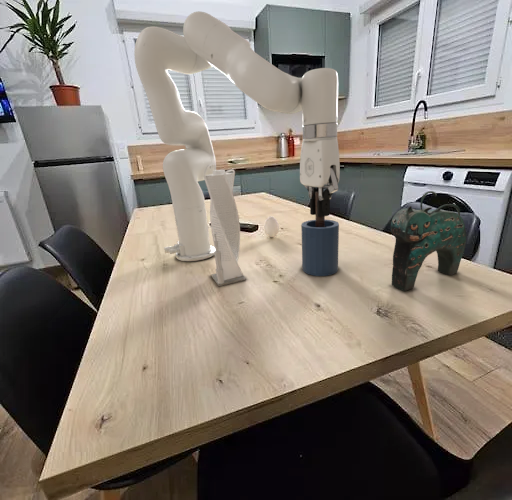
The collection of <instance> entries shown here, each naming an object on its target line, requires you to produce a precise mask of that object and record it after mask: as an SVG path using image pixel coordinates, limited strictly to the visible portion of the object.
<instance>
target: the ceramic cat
mask: <svg viewBox="0 0 512 500" xmlns="http://www.w3.org/2000/svg"><path fill="white" fill-rule="evenodd" d="M428 194H432V195H433V197H434V198H436V197H437V192H436V191H433V190H429V191H426V192H424V193H423V194H422V195H421V198H420V203H419V208H420V209H414V208H412V205H409V207H408V208H406V207H405V208H401V209H399V210H398V211H396V212H395V213H394V215H393V217H392V219H391V223H390V232H391V234H392V236H393V237H394V238H395V243H394V249H393V254H392V269H391V286H393V287H394V288H396V289H398V290H400V291H403V292H407V291H410V290H413V289H414V287H415V285H416V282H417V277H418V274H419V272H420V269H421V268H422V265H423V264H424V261H425V260H426V258H427V257H428V256H429V255H431V254H433V253H435V252H436V254H437V271H438V273H441V274H444V275H449V276H452V275H455V274H457V273H458V271H459V268H460V264H461V261H462V258H463V255H464V252H465V250H466V244H467V230H466V224H465V221H464V219H463V218H462V216H461V209H460V207H459V206H458V205H457V204H452V203H447V204H442V205H440V206H439V207H437V208H435V209H433V206H431V207H430V206H429V207H425V208H423V201H424V199H425V197H426V196H427V195H428ZM445 207H452V208H455V210H456V212H454V211H451V210H443V208H445Z"/></svg>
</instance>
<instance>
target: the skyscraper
mask: <svg viewBox="0 0 512 500" xmlns="http://www.w3.org/2000/svg"><path fill="white" fill-rule="evenodd" d="M211 165H215V167H214V171H213V174H211V175H206V171H207V168H208V167H209V166H211ZM205 175H206V176H205ZM235 177H236V171H235V169H232V168H231V169H227V170H225V169H217V163H216V164H215V163H211V164H209V165H208V166H207V167H206V169H205V171H204V179H205V180H204V182H205V186H206V190H207V192H208V194H209V198H210V202H209V203H210V205H209V206H210V207H209V219H210V228H211V229H210V230H211V236H212V241H213V247H215V252H214V255H213V256H214V260H215V264H216V265H215V273H212V274H211V275H210V276H211V278H212V280H213V281H214V282H215V283H216V285H217V286H218V287H222V286H227V285H230V284H234V283H235V284H236V283H240V282H242V281H243V282H244V281H246V280H247V278H246V277H245V275H244V274H243V271H242V270H241V266H240V265H239V257H240V247H241V222H240V217H239V211H238V206H237V203H236V200H235V196H234V194H233V192H234V184H235Z"/></svg>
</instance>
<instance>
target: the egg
mask: <svg viewBox="0 0 512 500" xmlns="http://www.w3.org/2000/svg"><path fill="white" fill-rule="evenodd" d="M263 230H264V234H265V235H266V236H268V237H269V238H275V237H277V235H278V234H279V231H280V223H279V221H278V219H277V218H276V217H275V216H274V215H269V216H268V217H267V218H266V219H265V221H264V223H263Z"/></svg>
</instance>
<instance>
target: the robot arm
mask: <svg viewBox="0 0 512 500" xmlns="http://www.w3.org/2000/svg"><path fill="white" fill-rule="evenodd" d="M185 18H186V19H185V20H184V23H183V27H182V28H183V29H182V32H183V35H180V34H178V33H176V32H174V31H172V30H169V29H167V28H165V27H160V26H153V25H152V26H147V27H145V28H143V29H142V30H141V31H140V32H139V33H138V36H137V38H136V41H135V45H134V53H133V55H134V56H133V57H134V63H135V68H136V72H137V74H138V77H139V80H140V82H141V84H142V87H143V89H144V91H145V94H146V95H145V96H146V98H147V101H148V105H149V108H150V111H151V116H152V118H153V122H154V124H155V128H156V131H157V134H158V137H159V139H160V141H161V142H162V143H163V144H165V145H166V146H167V145H168V146H184V147H185V148H183V149H182V148H181V149H175V150H173V151H171V152H168V153H167V154H166V155H165V157H164V158H163V162H162V171H163V175H164V177H165V181H166V183H167V186H168V190H169V193H170V198H171V203H172V208H173V215H174V221H175V226H176V233H177V239H178V241H176V244H174V245H172V246H164V247H163V250H164V253H165V254H169V255H172V254H173V255H174V254H175V258H176V259H177V260H179V261H181V262H197V261H203V260H206V259H207V260H208V259H209V258H212V257H214V256H215V255H214V252H215V247H214V245H211V237H210V230H209V224H208V221H209V220H208V214H207V206H206V200H205V195H204V191H203V190H202V187H201V186H200V183H199V182H203V181H205V179H204V171H205V169H206V167H207V166H208V165H209V164H211V163H215V164H216V165H217V159H216V155H215V152H214V147H213V143H212V139H211V135H210V132H209V128H208V125H207V123H206V121H205V119H204V118H203V117H202V116H201V115H200V114H199V113H198V112H195V111H193V110H186V109H185V108H184V106H183V103H182V100H181V97H180V92H179V90H178V87H177V84H176V83H175V81H174V80H173V78H172V77H171V75H170V74H169V71H171V72H176V73H179V74H182V75H194V74H197V73H200V72H203V71H206V70H209V69H212V68H215V69H216V70H218V71H219V72H220V73H221V74H223V75H225V76H226V77H227V78H228V79H229V81H231V83H232V84H234V86H235V87H236V88H237V89H238V90H240V91H241V93H244V94H245V95H246V96H247V97H249V98H250V99H252V100H253V101H254V102H256V103H257V104H258V105H260V106H261V107H263V108H264V109H266V110H268V111H271V112H276V113H281V114H287V115H293V114H296V113H300V112H301V117H302V120H301V121H302V123H301V124H302V142H301V147H300V148H301V149H300V156H299V182H300V184H301V185H303V186H304V187H305V189H306V190H307V192H308V198H309V214H310V215H311V216H315V192H317V191H319V200H317V216H318V217H324V216H325V217H329V216H330V215H331V200H332V197H333V194H334V193H336V192H338V191H339V185H338V184H339V182H340V174H341V173H340V172H341V169H340V166H341V164H340V163H341V162H340V149H339V139H338V116H339V115H338V111H339V110H338V109H339V108H338V107H339V75H338V72H337V70H336V69H334V68H332V67H320V68H314V69H310V70H308V71H306V72H305V73H304V74H303V76H302V77H299V76H298V77H297V76H295V75H291V74H289V73H287V72H285V71H283V70H281V69H279V68H278V67H276V66H275V65H274V64H272V63H271V62H269V61H268V60H266V59H265V58H264V57H262V56H261V55H260V54H258V53H257V52H256V51H254V50H253V47H252V44H251V42H249V41H248V40H247V39H246V38H244V37H243V36H241V35H240V34H238V33H237V32H235V31H234V30H233V29H231V27H230V26H229V25H228V24H226V23H225V22H223V21H222V20H220V19H218V18H217V17H215V16H213V15H211V14H210V13H208V12H204V11H194V12H191V13H190V14H188V16H187V17H185ZM168 70H169V71H168ZM214 167H215V165H211V166H209V167H208V168H207V171H206V175H211V174H213V171H214ZM206 175H205V176H206Z"/></svg>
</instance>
